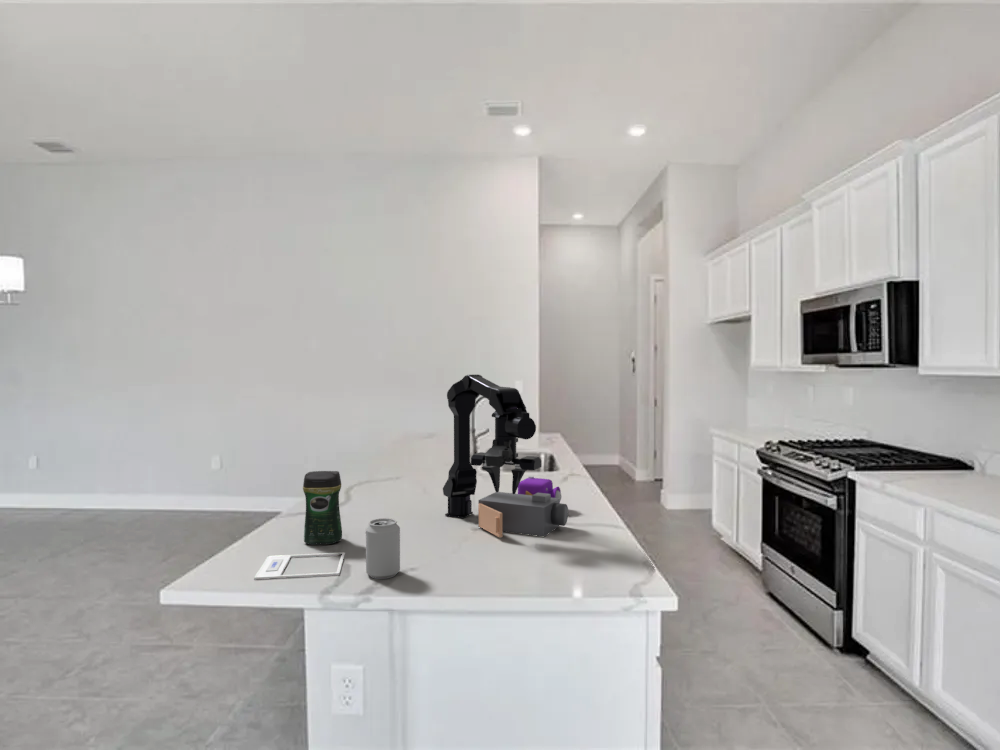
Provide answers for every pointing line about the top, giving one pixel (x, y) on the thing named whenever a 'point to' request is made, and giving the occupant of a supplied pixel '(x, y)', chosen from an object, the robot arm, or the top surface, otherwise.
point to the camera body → (527, 512)
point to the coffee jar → (322, 507)
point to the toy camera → (538, 487)
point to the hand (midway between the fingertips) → (505, 492)
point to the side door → (490, 520)
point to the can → (382, 548)
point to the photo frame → (277, 564)
